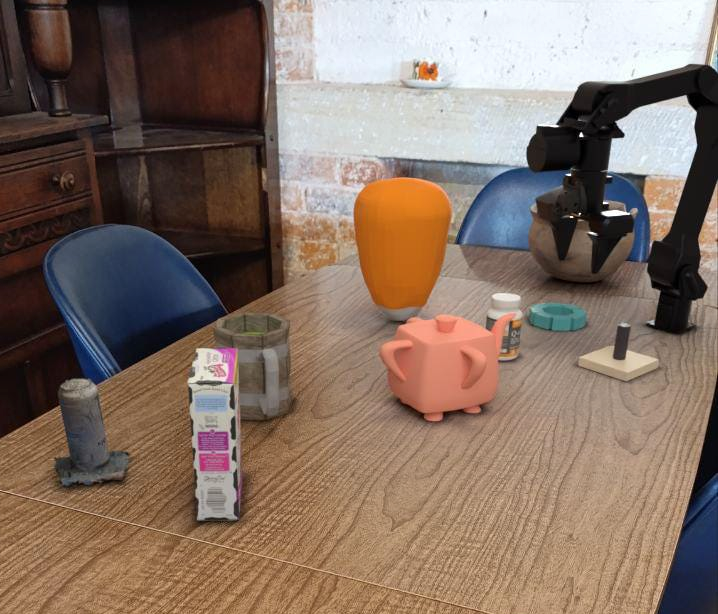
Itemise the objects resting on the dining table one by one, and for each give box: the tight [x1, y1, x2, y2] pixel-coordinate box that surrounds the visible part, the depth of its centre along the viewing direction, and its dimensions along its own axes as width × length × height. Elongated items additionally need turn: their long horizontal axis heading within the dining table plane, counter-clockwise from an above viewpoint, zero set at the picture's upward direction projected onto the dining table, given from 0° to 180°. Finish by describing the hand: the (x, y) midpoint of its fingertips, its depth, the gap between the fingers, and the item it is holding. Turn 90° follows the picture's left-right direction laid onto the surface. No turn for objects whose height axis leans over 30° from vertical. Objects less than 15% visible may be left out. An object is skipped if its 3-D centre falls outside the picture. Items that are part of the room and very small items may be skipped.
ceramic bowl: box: [527, 199, 639, 283], centre depth 185 cm, size 22×22×15 cm
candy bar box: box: [187, 347, 243, 522], centre depth 97 cm, size 11×5×16 cm, turn 5°
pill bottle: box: [485, 292, 524, 362], centre depth 142 cm, size 6×6×10 cm
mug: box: [212, 312, 293, 421], centre depth 120 cm, size 16×11×12 cm
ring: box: [528, 302, 588, 332], centre depth 160 cm, size 10×10×2 cm
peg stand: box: [577, 322, 660, 382], centre depth 139 cm, size 9×9×7 cm
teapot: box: [378, 313, 517, 422], centre depth 123 cm, size 17×16×13 cm
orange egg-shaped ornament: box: [352, 177, 453, 322], centre depth 154 cm, size 17×17×25 cm
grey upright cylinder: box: [53, 377, 131, 488], centre depth 103 cm, size 9×8×12 cm
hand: (577, 266), depth 146 cm, fingers open, 9 cm apart
